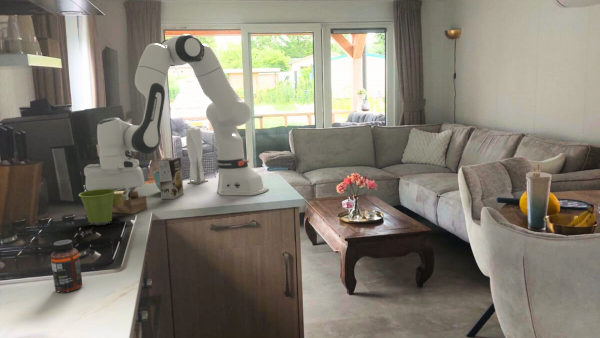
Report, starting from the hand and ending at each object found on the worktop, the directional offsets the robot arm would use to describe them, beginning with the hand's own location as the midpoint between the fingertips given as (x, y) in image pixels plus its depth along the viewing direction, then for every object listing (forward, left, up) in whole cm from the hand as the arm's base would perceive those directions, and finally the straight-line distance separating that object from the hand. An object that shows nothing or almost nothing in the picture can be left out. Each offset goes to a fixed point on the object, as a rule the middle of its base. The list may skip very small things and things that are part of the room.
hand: (117, 200), depth 193 cm
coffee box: (+2, -33, -6) cm, 33 cm away
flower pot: (+12, -42, -6) cm, 44 cm away
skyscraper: (+12, -63, -6) cm, 64 cm away
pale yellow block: (0, 0, -1) cm, 1 cm away
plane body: (+4, -8, -6) cm, 10 cm away
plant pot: (-3, +11, -6) cm, 13 cm away
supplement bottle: (-43, +58, -6) cm, 73 cm away
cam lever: (+2, -12, 0) cm, 12 cm away
